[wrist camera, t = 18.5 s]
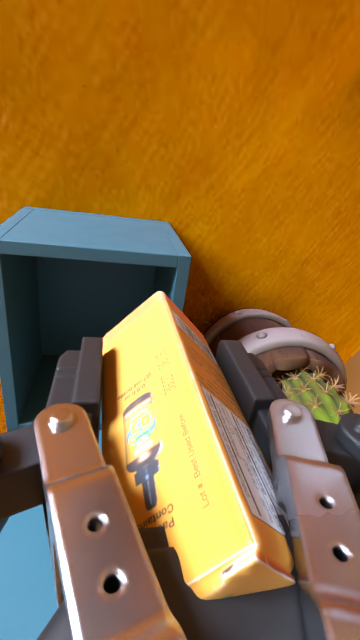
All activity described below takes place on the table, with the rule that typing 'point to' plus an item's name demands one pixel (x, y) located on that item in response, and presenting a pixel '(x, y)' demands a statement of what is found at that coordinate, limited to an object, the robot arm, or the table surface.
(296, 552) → the robot arm
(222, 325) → the flowerpot
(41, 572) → the lid
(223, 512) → the supplement box
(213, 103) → the table surface
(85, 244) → the bin
